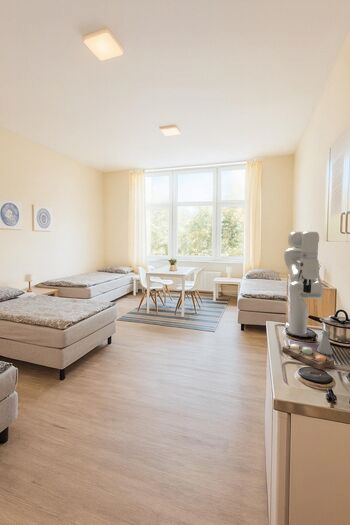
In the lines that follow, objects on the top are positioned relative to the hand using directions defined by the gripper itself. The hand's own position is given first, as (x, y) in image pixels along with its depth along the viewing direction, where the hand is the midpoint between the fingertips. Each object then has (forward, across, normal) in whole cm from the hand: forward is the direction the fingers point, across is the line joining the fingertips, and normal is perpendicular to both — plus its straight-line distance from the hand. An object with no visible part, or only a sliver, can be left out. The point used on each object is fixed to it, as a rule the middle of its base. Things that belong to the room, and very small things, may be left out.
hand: (306, 292), depth 134 cm
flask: (+29, +5, -8) cm, 31 cm away
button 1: (+29, -9, -2) cm, 30 cm away
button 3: (+29, -9, -16) cm, 34 cm away
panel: (+29, -9, -9) cm, 32 cm away
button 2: (+28, -9, -9) cm, 30 cm away
